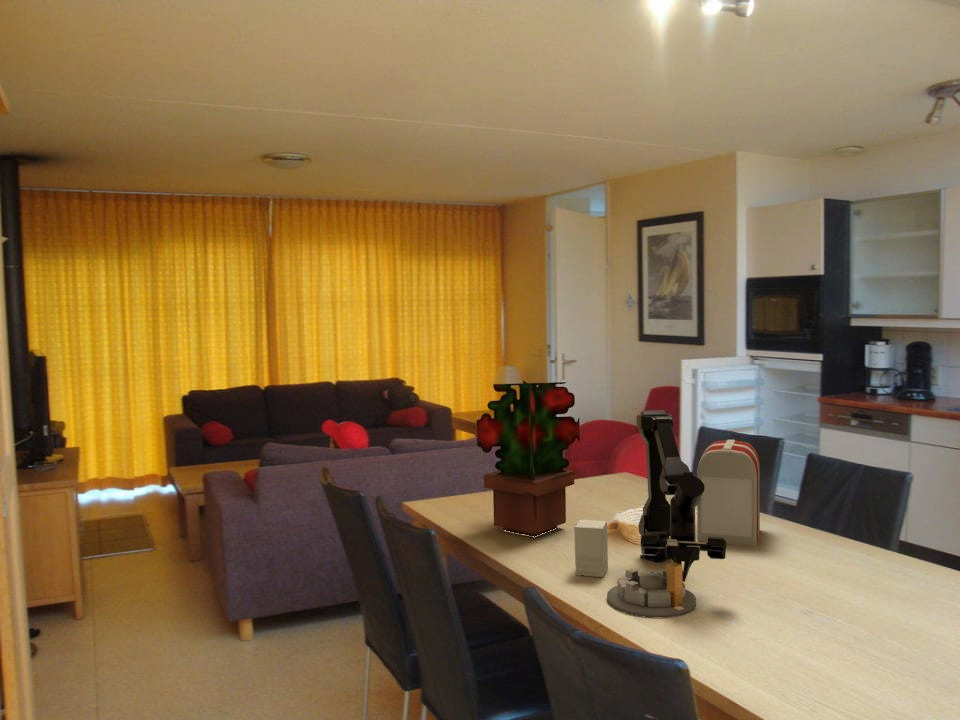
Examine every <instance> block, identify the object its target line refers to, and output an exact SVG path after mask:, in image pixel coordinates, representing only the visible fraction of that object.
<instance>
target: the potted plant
mask: <svg viewBox="0 0 960 720" xmlns="http://www.w3.org/2000/svg"><path fill="white" fill-rule="evenodd" d="M564 384H567V381H563V382H562V381H559V382H557V381H555V382H553V381H552V382H529V383H528V382H527V381H525V380H522V383H521V382H520V383H518V382H517V383H494V384H493V386H492V388H493V390H494V391H496V392H497V393H505V394H502V395H501V396H500V399H499V400H490V401H488V402H487V405H486V406H487V409H489V410H490V411H492V412H493V418H492V416H491V414H490V413H489V412H485V413H482V415H481V416H480V419H477V420H476V442H477V443H476V447H478V448H481V450H482V452H483V453H485V454H489V453H490V452H491V451H492V450H493V448H495V447H500V448H498V449H496V450H495V452H494V456H495V458H497V459H499V461H496V463H495V465H494V468H495V469H496V471H493V472H490V473H486V474H483V488H484V489H489V490H492V491H493V492H492V493H493V497H492V499H493V501H492V502H493V505H492V506H493V526H495V527H499V528H502V531H503V530H506V531H510V532H514V533H519V534H525V535H529V536H534V537H535V536H537V535H540V534H542V533H545V532H548V531H550V530H553V529H555V528H557V529H558V526H561V525H563V524H565V523H567V507H566V505H567V499H566V498H567V497H566V495H567V493H566V488H567V487H570V486H572V485H575V471H573V470H565V469H566V468H568V467H569V466H570V462H569V459H567V458H565V457H564V455H563V452H564V451H566V450H567V449H569V447H570V445H572V444H573V443H575V441H576V439H577V442H579V443H580V442H581V440H580V439H581V438H580V433H581V432H580V431H581V429H580V417H578V419H577V421H576V420H575V418H574V417H573V416H557V415H565V414H567V413H568V411H569V410H570V409H571V408H573V407H574V406H575V404H576V400H575V398H576V397H575V394H574V393H573V392H570V391H569V390H568V387H566V386H557V385H564ZM513 386H518V387H519V393H518V392H517V390H516V389H515V388H512V387H513ZM518 394H519V396H518ZM518 397H519V398H518ZM511 405H512V406H511ZM511 407H512V409H511ZM512 410H513V411H512Z"/></svg>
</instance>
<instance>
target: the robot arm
mask: <svg viewBox="0 0 960 720" xmlns="http://www.w3.org/2000/svg"><path fill="white" fill-rule="evenodd" d="M673 423H674V422H673V414H669V413H666V410H664V409H662V410H661V409H660V410H659V409H658V410H641V411H640V414H637V415H636V427H637V429H638V432H639V435H640V437H641V439H642V440H643V441H644V443H645V450H646V451H645V453H646V455H645V456H646V457H645V458H646V472H647V473H646V475H647V477H646V478H647V493H648V495H647V496H648V498H647V499H646V501H645V503H644V505H643V507H642V514H641V517H640V520H639V523H638V534H639V535H640V553H641V554H640V555H639V557H640V558H642V559H645V560H649V561H654V562H657V563H661V562H664V561H666V560H671V561H672V562H676V563H679V564H682V565H683V568H682V582H683V583H685V582H686V580H687V577H688V575H689V571H690V569H691V566H692V564H693V563H694V562H695V561H699V560H700V553H701V552H706V553H707V557H709V558H710V560H711V559H713V560H724V559H726V554H727V553H726V552H727V544H726V540H725V539H724V538H723V537H708V540H707V542H702V541H697V540H696V538H697V537H696V533H697V532H696V508H697V505H698V503H699V501H700V499H701V497H702V494H703V492H704V489H705V487H704V483H703V482H702V481H701V480H700V479H699V478H697V476H695V475H694V473H693V471H690V468H689V466H688V465H687V464H686V463H685V462H684V461H682V459H681V455H680V452H679V451H680V450H679V448H678V444H677V439H676V437H675V433H674V429H673V425H674V424H673ZM667 496H672V497H671V498H670V499H669V500H667ZM682 562H684V563H682Z"/></svg>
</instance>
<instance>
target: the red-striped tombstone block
mask: <svg viewBox="0 0 960 720" xmlns="http://www.w3.org/2000/svg"><path fill="white" fill-rule="evenodd" d="M760 466H761V463H760V457H759V455H758V452H757V451H756V448H754V447H753V446H752V445H751V444H750V443H748V442H746V441H740V440H736V439H726V440H717V441H714V442H712V443H710V445H709V446H708V447H706V449H705V450H704V452H703V453H702V455H701V458H700V460H699V462H698V465H697V471H696V475H697V476H696V477H697V478H699V479H700V480H701V481H702V482H703V483H704V487H705V489H704V492H703V494H702V497H701V499H700V501H699V503H698V505H697V506H696V511H697V513H696V515H697V517H696V520H697V522H696V523H697V526H696V527H697V528H696V529H697V532H696V533H697V537H696V538H697V540H698V541H697V540H696V541H697V542H707V540H708V537H723V538H724V539H725V540H726V545H727V544H728V545H737V544H738V546H748V547H749V546H751V547H757V545H758V541H759V539H760V532H761V529H760V524H761V523H760V518H761V516H760V515H761V511H760V507H761V506H760V505H761V504H760V503H761V501H760V500H761V499H760V498H761V496H760V495H761V491H760V488H761V487H760V486H761V482H760V481H761V476H760V473H761V471H760V470H761V469H760V468H761V467H760Z"/></svg>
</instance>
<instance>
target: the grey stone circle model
mask: <svg viewBox="0 0 960 720" xmlns="http://www.w3.org/2000/svg"><path fill="white" fill-rule="evenodd" d="M640 588H642V589H645V590H662V577H661V576H660V575H657V574H643V575H641V576H640ZM606 601H607V603H608V605H609V606H611V608H613V607H614V608H613V609H615V610H616V611H619V610H620V611H619V612H621V611H622V612H621V613H624V612H625V613H624V614H627V613H628V615H631V614H632V615H631V616H636V615H637V616H636V617H642V616H645V617H644V618H653V617H663V618H674V617H679V616H683V615H686V614H689V613H690V612H692V611H694V610H695V608H696V607H697V597H696V595H695V594H694V593H693V592H691V591H690V590H688V589H686V588H685V600H683V604H682V605H679V606H676V607H674V606H671V607H648V606H645V607H643V606H639V605H635V604H632V603H628V602H625V600H622V599H621V597H620V596H619V594H618V585H615V586H613V587H612V588H610V589H609V590H608V591H607V593H606ZM673 616H674V617H673Z"/></svg>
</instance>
